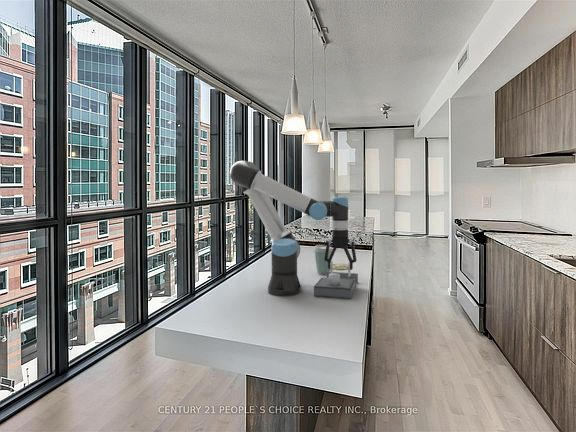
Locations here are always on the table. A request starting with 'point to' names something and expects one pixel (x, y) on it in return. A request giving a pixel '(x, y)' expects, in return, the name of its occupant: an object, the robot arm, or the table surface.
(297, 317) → the table surface
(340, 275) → the tray
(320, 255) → the disposable coffee cup
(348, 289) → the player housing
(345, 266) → the disc
